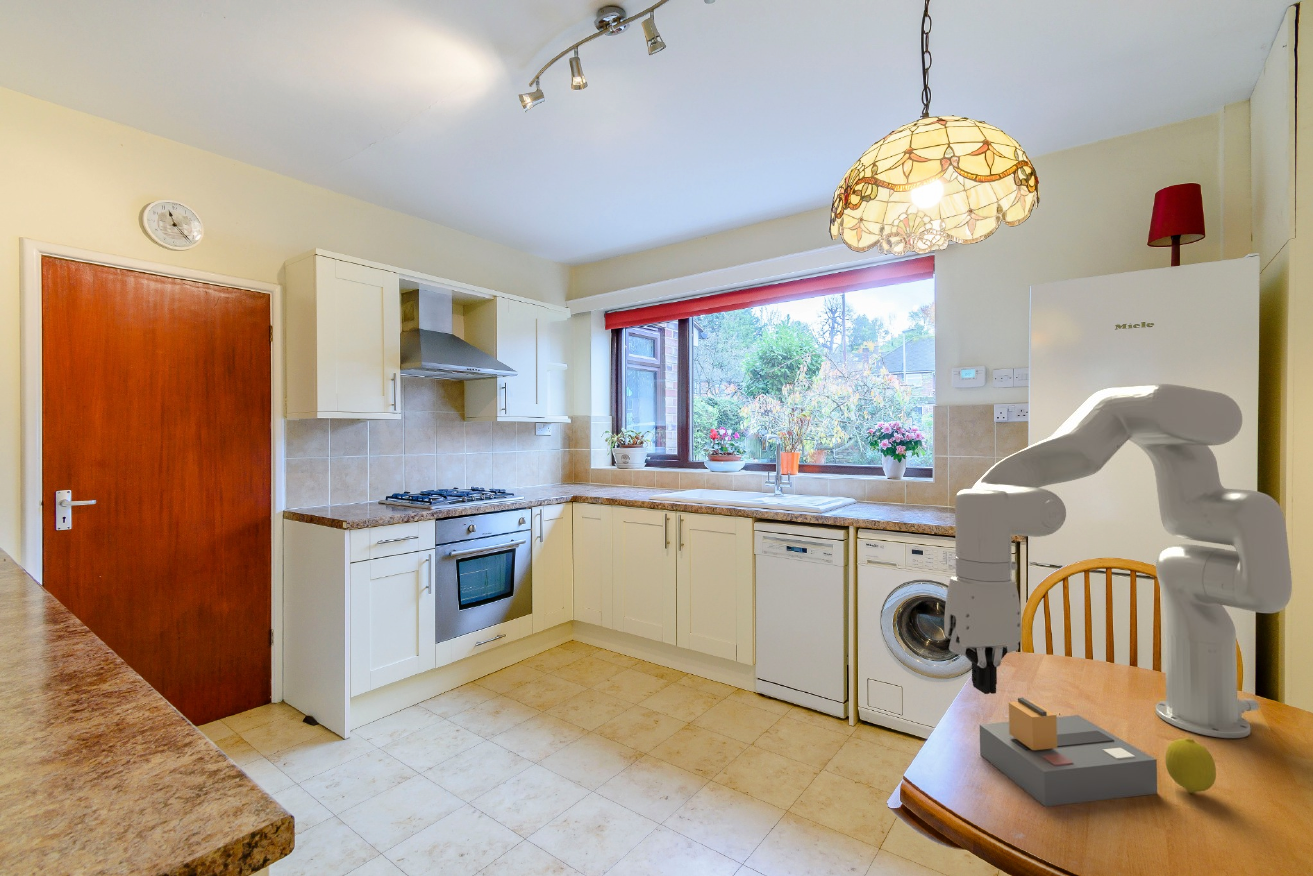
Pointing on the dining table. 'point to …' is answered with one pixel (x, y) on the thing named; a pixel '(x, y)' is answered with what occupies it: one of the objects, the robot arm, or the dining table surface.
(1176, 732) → the dining table surface
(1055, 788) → the switch panel
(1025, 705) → the orange block
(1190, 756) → the lemon
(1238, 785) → the dining table surface
